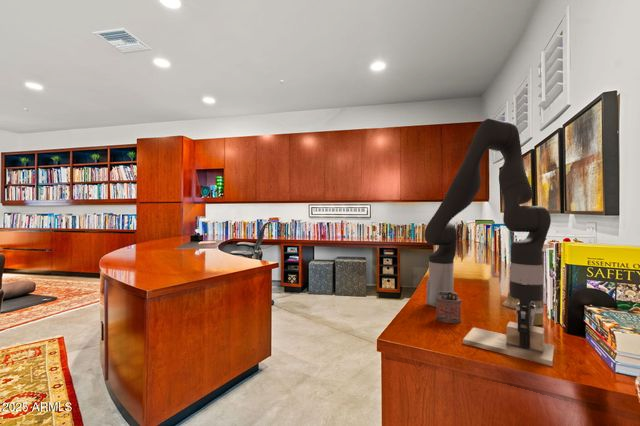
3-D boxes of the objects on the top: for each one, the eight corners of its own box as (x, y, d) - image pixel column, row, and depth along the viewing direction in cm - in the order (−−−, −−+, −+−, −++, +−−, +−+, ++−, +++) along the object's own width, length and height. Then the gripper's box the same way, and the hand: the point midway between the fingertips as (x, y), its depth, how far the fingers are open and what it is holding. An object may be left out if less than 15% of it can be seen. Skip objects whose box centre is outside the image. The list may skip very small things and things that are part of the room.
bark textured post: (547, 326, 101) (548, 250, 101) (524, 325, 102) (525, 249, 102) (537, 320, 108) (537, 248, 108) (515, 318, 109) (516, 247, 109)
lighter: (460, 320, 106) (461, 291, 106) (461, 323, 103) (462, 293, 103) (435, 317, 108) (435, 289, 108) (435, 320, 105) (436, 291, 105)
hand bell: (526, 305, 125) (527, 266, 125) (527, 310, 118) (527, 269, 118) (502, 302, 130) (503, 264, 130) (502, 307, 123) (502, 266, 123)
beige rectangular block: (506, 344, 83) (506, 326, 83) (509, 339, 87) (509, 321, 87) (542, 353, 78) (542, 333, 78) (544, 347, 82) (544, 328, 82)
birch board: (463, 343, 87) (463, 339, 87) (473, 331, 96) (473, 327, 96) (552, 366, 74) (552, 361, 74) (554, 349, 83) (554, 345, 83)
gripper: (513, 274, 91) (513, 333, 90) (505, 282, 79) (505, 349, 79) (544, 278, 86) (544, 339, 86) (541, 287, 75) (541, 357, 75)
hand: (525, 343), depth 82 cm, fingers closed on beige rectangular block, 5 cm apart
